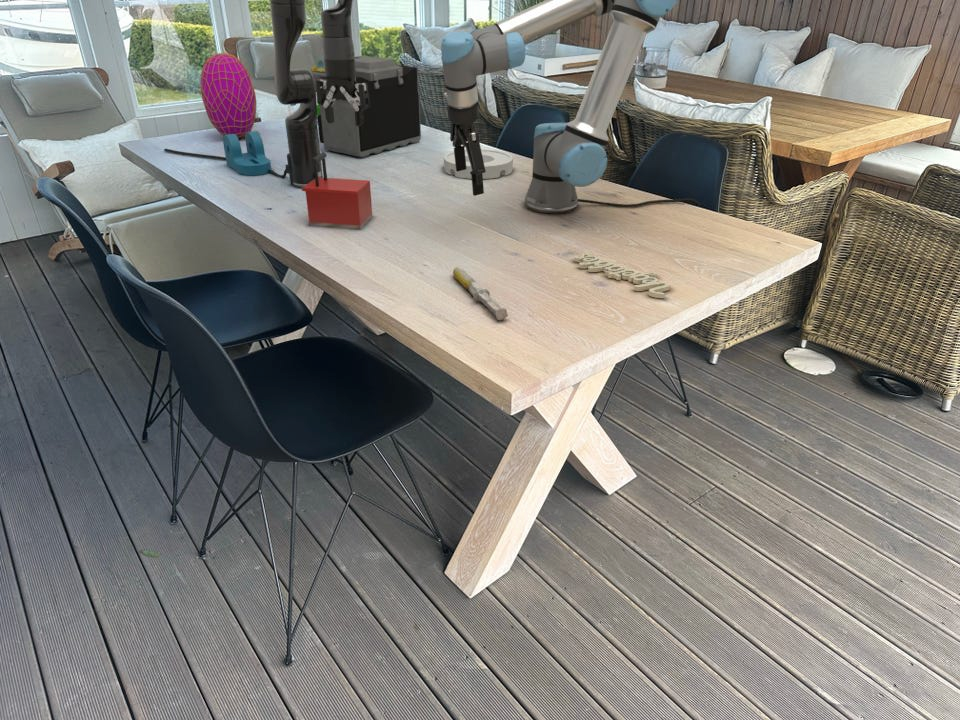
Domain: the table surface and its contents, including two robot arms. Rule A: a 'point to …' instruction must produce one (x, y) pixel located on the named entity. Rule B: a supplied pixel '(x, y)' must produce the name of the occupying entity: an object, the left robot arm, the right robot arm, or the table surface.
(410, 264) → the table surface
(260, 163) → the camera mount
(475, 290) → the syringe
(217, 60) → the decorative egg
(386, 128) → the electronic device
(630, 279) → the decorative sign
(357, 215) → the chest
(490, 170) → the ashtray
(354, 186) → the lid
